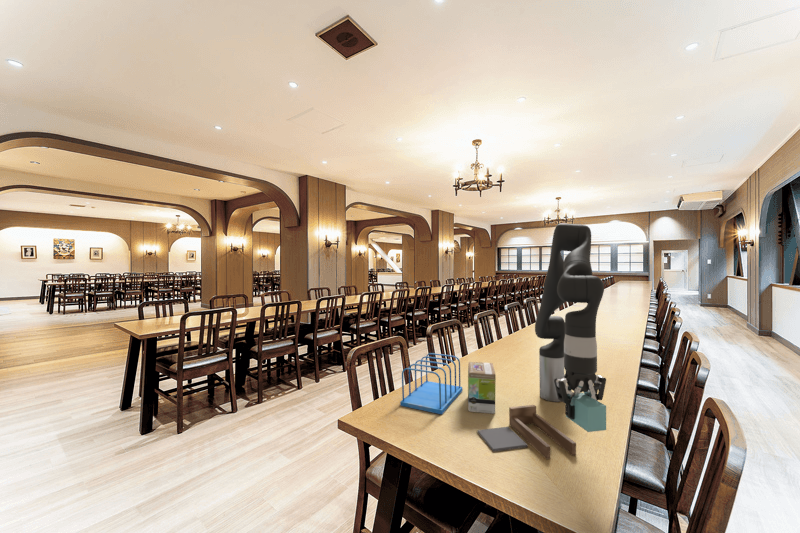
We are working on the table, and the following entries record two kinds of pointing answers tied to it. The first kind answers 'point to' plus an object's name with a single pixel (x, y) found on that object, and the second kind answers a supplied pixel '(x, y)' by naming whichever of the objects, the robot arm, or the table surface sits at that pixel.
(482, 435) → the felt mat
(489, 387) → the tea box
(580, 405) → the teal blank
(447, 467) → the table surface
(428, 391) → the file sorter
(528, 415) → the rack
